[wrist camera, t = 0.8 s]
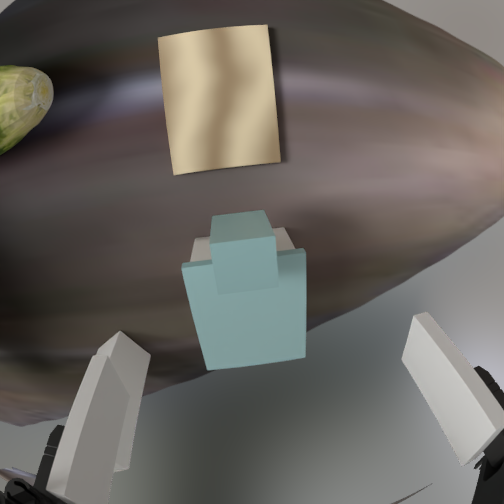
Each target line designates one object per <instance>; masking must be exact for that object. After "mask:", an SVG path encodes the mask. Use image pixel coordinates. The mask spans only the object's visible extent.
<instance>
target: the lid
mask: <svg viewBox="0 0 504 504" xmlns="http://www.w3.org/2000/svg"><path fill="white" fill-rule="evenodd" d="M209 245H210V251H211V257H212V259H211V260H203V261H195V262H187V263H183V264H182V268H181V269H182V273H183V278H184V282H185V286H186V291H187V295H188V299H189V303H190V307H191V311H192V315H193V319H194V323H195V327H196V331H197V334H198V338H199V342H200V346H201V349H202V353H203V356H204V360H205V363H206V367H207V370H216V369H226V368H235V367H243V366H252V365H260V364H267V363H274V362H281V361H287V360H293V359H299V358H305V355H306V252H305V250H304V248H299V249H291V250H283V251H276V236H275V234H274V231H273V229H272V227H271V225H270V222H269V220H268V218H267V216H266V213H265V211H264V210H258V211H249V212H241V213H233V214H225V215H217V216H212V222H211V232H210V242H209Z"/></svg>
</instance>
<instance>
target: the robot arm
mask: <svg viewBox="0 0 504 504" xmlns="http://www.w3.org/2000/svg"><path fill="white" fill-rule="evenodd" d="M401 360H402V361H403V363H404V364H405V366H406V368H407V370H408V371H409V373H410V374H411V376H412V378H413V379H414V381H415V383H416V384H417V386H418V388H419V389H420V391H421V392H422V395H423V396H424V398H425V400H426V401H427V403H428V405H429V407H430V408H431V410H432V412H433V414H434V415H435V417H436V419H437V421H438V422H439V424H440V426H441V428H442V430H443V432H444V433H445V435H446V437H447V439H448V441H449V443H450V445H451V446H452V448H453V450H454V452H455V454H456V456H457V458H458V460H459V461H460V464H461V466H464V465H466V464H468V463H469V462H471V461H473V460H474V459H476V458H477V457H478V456H479V455H480V454H481V453H482V452H484V454H485V456H483V457H482V458H481V460H480V461H478V463H477V464H476V465H475V467H474V469H476V468H478V467H479V466H480V465H481V464H482V465H481V467H480V468H479V470H480V474H479V478H478V482H477V486H476V490H475V494H474V497H473V501H472V504H504V393H503V391H502V390H501V389H500V387H499V385H498V384H497V383H495V380H494V379H493V378H492V376H491V375H490V374H489V372H488V371H486V370H485V369H483V368H481V367H480V366H477V367H475V368H473V367H472V366H471V365H470V363H469V362H468V361H467V360H466V358H465V357H464V356H463V354H462V353H461V352H460V351H459V349H458V348H457V347H456V346H455V344H454V343H453V342H452V341H451V339H450V338H449V337H448V336H447V335H446V333H445V332H444V331H443V330H442V329H441V327H440V326H439V325H438V324H437V323H436V322H435V320H434V319H433V318H432V317H431V316H430V315H429V313H428V312H424V313H420V314H417V315H414V316H413V320H412V324H411V327H410V331H409V335H408V339H407V342H406V346H405V349H404V352H403V356H402V359H401ZM129 398H130V395H129V394H128V392H127V390H126V388H125V387H124V385H123V383H122V381H121V380H120V378H119V376H118V374H117V372H116V370H115V368H114V367H113V365H112V363H111V361H110V359H109V357H108V355H93V356H92V359H91V361H90V363H89V366H88V368H87V371H86V373H85V375H84V378H83V380H82V383H81V385H80V388H79V390H78V393H77V395H76V398H75V401H74V403H73V406H72V409H71V411H70V414H69V417H68V420H67V422H66V425H65V426H62V425H57V426H56V428H55V429H54V430H53V431H52V433H51V434H50V436H49V439H48V442H47V447H46V448H45V451H44V455H43V457H42V460H41V463H40V466H39V470H38V473H37V476H36V480H35V483H34V486H31V485H30V484H28V483H27V482H26V481H24V480H23V479H20V478H14V479H12V480H10V481H9V482H8V483H7V485H6V487H5V492H4V493H3V492H1V491H0V504H108V501H109V495H110V489H111V483H112V477H113V472H114V466H115V461H116V456H117V451H118V446H119V441H120V437H121V432H122V427H123V423H124V419H125V414H126V410H127V406H128V402H129Z"/></svg>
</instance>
